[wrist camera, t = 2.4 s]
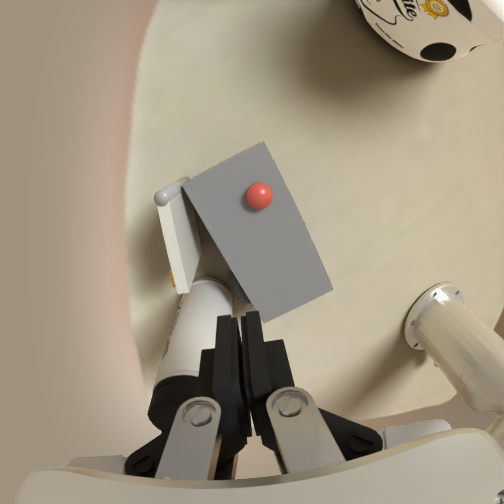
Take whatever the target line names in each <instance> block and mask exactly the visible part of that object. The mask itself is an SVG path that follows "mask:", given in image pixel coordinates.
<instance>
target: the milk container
mask: <svg viewBox="0 0 504 504" xmlns="http://www.w3.org/2000/svg"><path fill="white" fill-rule="evenodd" d="M355 2H356V4H357V6H358V9H359V11H360V12H361V14H362V15H363V17H364V18H365V20H366V21H367V22H368V23H369V25H370V26H371V27H372V28H373V30H374V31H375V32H376V33H377V34H378V35H380V36H381V37H382V38H383V39H384V40H385V41H386V42H388V43H389V44H390V45H391V46H393V47H394V48H396V49H398V50H399V51H401V52H403V53H404V54H406V55H408V56H410V57H413V58H416V59H419V60H422V61H426V62H449V61H453V60H457V59H459V58H462V57H464V56H465V55H467V54H468V53H469V52H470V51H472V50H473V49H474V48H476V47H477V46H480V45H484V44H489V43H495V42H500V41H503V40H504V0H355Z"/></svg>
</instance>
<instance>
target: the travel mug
mask: <svg viewBox="0 0 504 504" xmlns="http://www.w3.org/2000/svg"><path fill="white" fill-rule="evenodd" d="M232 306H233V299H232V293H231V291H230V289H229V288H228V286H227V285H226V284H225V283H224V282H222V281H221V280H219V279H216V278H213V277H199V278H196V279H194V280H193V282H192V285H191V288H190V292H189V293H183V295H182V298H181V301H180V304H179V307H178V310H177V313H176V316H175V319H174V322H173V326H172V329H171V332H170V335H169V338H168V341H167V345H166V348H165V351H164V355H163V358H162V361H161V365H160V368H159V371H158V375H157V378H156V382H155V385H154V389H153V395H152V399H151V402H150V406H149V410H148V417H149V420H150V421H151V422H152V423H153V424H154V426H156V427H157V428H158V429H159V430H161V431H162V433H163V432H165V431H166V430H168V429H169V428H170V427H172V425H173V422H174V420H175V417H176V414H177V411H178V409H179V407H180V406H181V405H182V404H183V403H184V402H186V401H187V400H189V399H192V398H195V397H196V392H197V383H198V374H199V366H200V358H201V351H202V349H211V348H215V338H216V325H217V316H221V315H229V314H231V316H232Z"/></svg>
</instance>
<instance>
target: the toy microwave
mask: <svg viewBox="0 0 504 504" xmlns="http://www.w3.org/2000/svg"><path fill="white" fill-rule="evenodd" d="M182 186H183V188H184V190H185V192H186V193H187V195H188V197H189V199H190V200H191V202H192V204H193V206H194V207H195V209H196V211H197V212H198V214H199V216H200V218H201V219H202V221H203V223H204V225H205V226H206V228H207V230H208V231H209V233H210V235H211V236H212V238H213V240H214V242H215V243H216V245H217V247H218V248H219V250H220V252H221V253H222V255H223V257H224V258H225V260H226V262H227V263H228V265H229V267H230V268H231V270H229V271H228V275H229V279H230V282H231V285H232V287H233V289H234V292H235V293H236V295H237V297H238V299H239V300H240V302H241V303H242V304H243V305H244V306H245V307H247V306H250V305H253V306H254V308H255V310H256V311H259V314H260V318H261V319H262V321H263V322H264V323H265V322H267V321H270V320H272V319H274V318H276V317H278V316H280V315H283V314H285V313H287V312H289V311H291V310H293V309H295V308H297V307H299V306H301V305H303V304H306V303H308V302H310V301H312V300H314V299H316V298H318V297H320V296H322V295H324V294H326V293H328V292H330V291H331V290H333V287H332V285H331V282H330V280H329V278H328V275H327V273H326V271H325V268H324V266H323V264H322V261H321V259H320V257H319V254H318V252H317V250H316V248H315V246H314V243H313V241H312V239H311V237H310V234H309V232H308V230H307V228H306V226H305V224H304V221H303V219H302V217H301V215H300V213H299V211H298V209H297V207H296V204H295V202H294V200H293V198H292V196H291V194H290V192H289V190H288V188H287V186H286V184H285V182H284V180H283V178H282V176H281V174H280V172H279V170H278V168H277V166H276V164H275V162H274V160H273V158H272V156H271V154H270V152H269V150H268V148H267V147H266V145H265V143H264V142H261V143H258V144H256V145H254V146H252V147H250V148H248V149H246V150H244V151H242V152H240V153H238V154H237V155H235V156H233V157H231V158H229V159H227V160H225V161H223V162H221V163H219V164H218V165H216V166H214V167H212V168H210V169H208V170H207V171H205V172H203V173H201V174H199V175H198V176H196V177H194V178H192V179H191V180H189V181H188V182H186V183H185V184H183V185H182Z"/></svg>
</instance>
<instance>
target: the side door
mask: <svg viewBox="0 0 504 504" xmlns="http://www.w3.org/2000/svg"><path fill="white" fill-rule="evenodd" d="M189 180H190V179H189V178H188V177H183V178H182V179H180V180H178V181H176V182H174V183H172V184H170V185H168V186H167V187H165V188H163V189H161V190H159V191H157V192H156V193H155V195H154V201H155V203H156V204H157V208H158V213H159V217H160V222H161V227H162V231H163V236H164V240H165V245H166V249H167V253H168V258H169V262H170V266H171V270H170V272H169V273H170V277H171V281H172V285H173V287H176V289H177V293H178V294H182V293H189V292H190V288H191V285H192V282H193V279H194V275H195V272H196V269H197V266H198V263H199V259H200V256H201V253H202V248H201V242H200V237H199V232H198V227H197V221H196V216H195V210H194V206H193V204H192V202H191V200H190V199H189V197H188V195H187V193H186V192H185V190H184V188H183V186H182V185H183V184H185V183H186V182H188V181H189Z"/></svg>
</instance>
